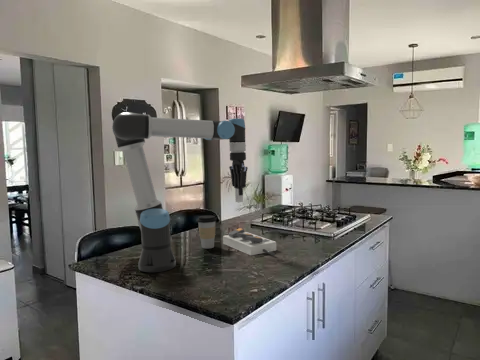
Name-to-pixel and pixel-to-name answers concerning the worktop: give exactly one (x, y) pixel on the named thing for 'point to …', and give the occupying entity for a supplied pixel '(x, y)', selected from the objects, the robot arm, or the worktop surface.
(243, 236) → the rocker
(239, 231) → the rocker
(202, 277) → the worktop surface
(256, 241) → the rocker
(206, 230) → the coffee cup
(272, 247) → the power strip
